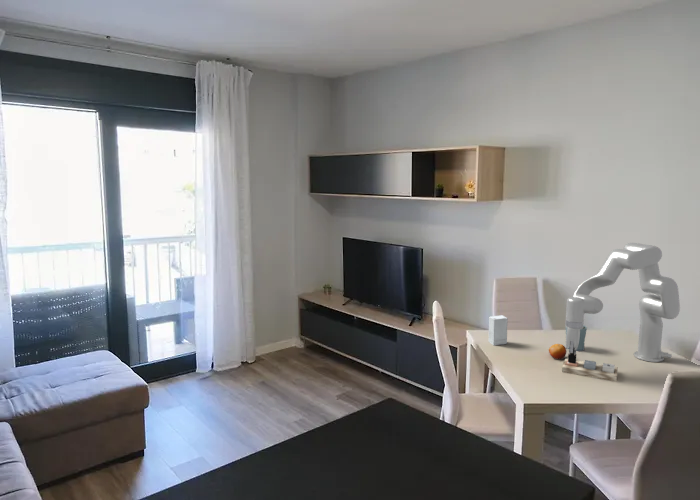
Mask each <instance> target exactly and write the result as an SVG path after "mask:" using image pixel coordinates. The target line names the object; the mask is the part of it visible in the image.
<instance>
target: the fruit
mask: <svg viewBox="0 0 700 500" xmlns="http://www.w3.org/2000/svg"><path fill="white" fill-rule="evenodd" d="M548 353H549V355H550V356H551V358H554V359H555V360H565V359H566V358H565V357H566V354H567V349H566V348H565V346H564V344H562V343H554V344H552V345H551V346H550V347H549V348H548Z"/></svg>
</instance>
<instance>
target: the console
mask: <svg viewBox="0 0 700 500" xmlns="http://www.w3.org/2000/svg"><path fill="white" fill-rule="evenodd" d="M567 360H568V358H564V361H563V364H562V367H561V372H562V373H567V374H570V375H571V374H572V375H577V376H583V377H588V378H594V379H600V380H606V381H611V382H617V379H618V367H617V366H615V368H614V373H609V372H604V371H602V368H603V364H600V363H596V368H595V370H592V369H586V368H584V362H585V361H582V360H581V361H580V360H576V362H578V367H574V366H568V365H566V362H567Z"/></svg>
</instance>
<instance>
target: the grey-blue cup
mask: <svg viewBox="0 0 700 500" xmlns="http://www.w3.org/2000/svg"><path fill="white" fill-rule="evenodd" d="M587 329H588V327H587V326H586V325H584V324H583V329H580V339H579V345H578V348H577V350H576V352H582V351H584V349H585V340H586V336H587ZM566 335H567V327H565V336H566ZM567 350H569V348H568V349H567Z"/></svg>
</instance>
